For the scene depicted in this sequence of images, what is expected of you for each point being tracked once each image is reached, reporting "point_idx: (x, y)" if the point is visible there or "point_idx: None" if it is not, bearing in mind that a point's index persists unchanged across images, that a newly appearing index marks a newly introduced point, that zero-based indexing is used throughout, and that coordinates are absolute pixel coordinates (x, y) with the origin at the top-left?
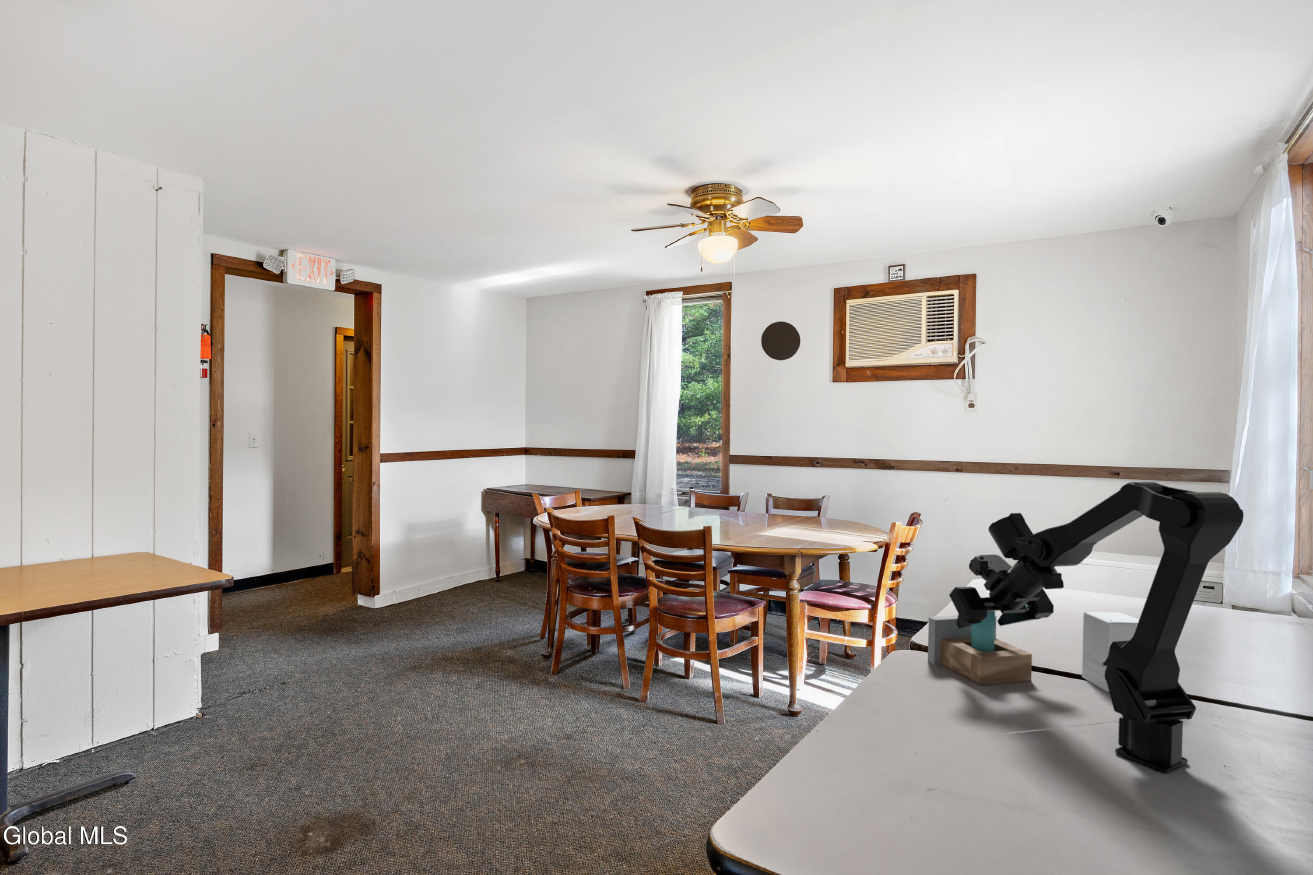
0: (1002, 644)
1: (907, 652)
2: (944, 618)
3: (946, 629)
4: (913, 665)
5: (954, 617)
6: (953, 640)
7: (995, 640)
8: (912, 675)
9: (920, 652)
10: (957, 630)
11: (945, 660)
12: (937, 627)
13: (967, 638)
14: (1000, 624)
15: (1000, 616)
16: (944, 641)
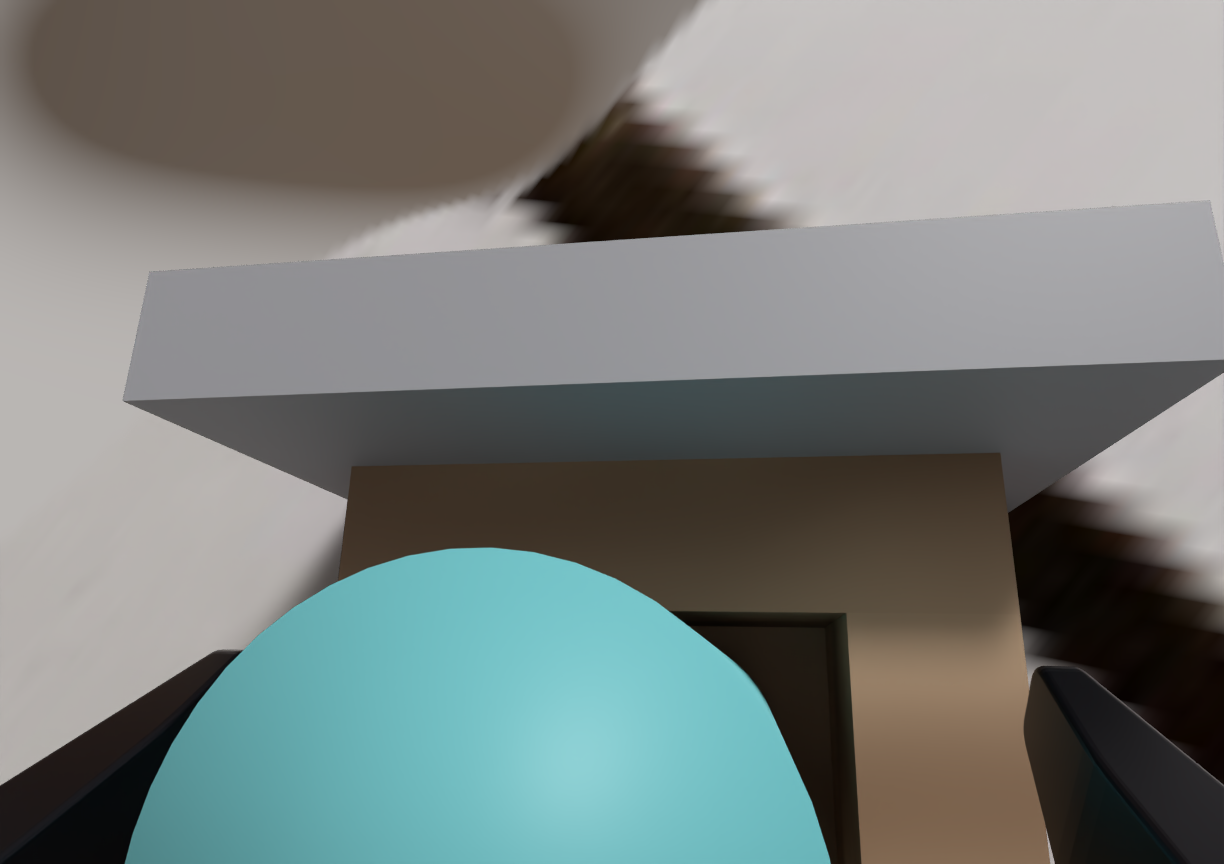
0: (938, 807)
1: (408, 232)
2: (298, 350)
3: (361, 438)
4: (257, 483)
5: (471, 326)
6: (434, 539)
7: (953, 636)
8: (102, 671)
9: (501, 242)
10: (521, 439)
11: None
12: (223, 432)
13: (642, 504)
14: (1034, 753)
15: (1091, 764)
16: (351, 519)
